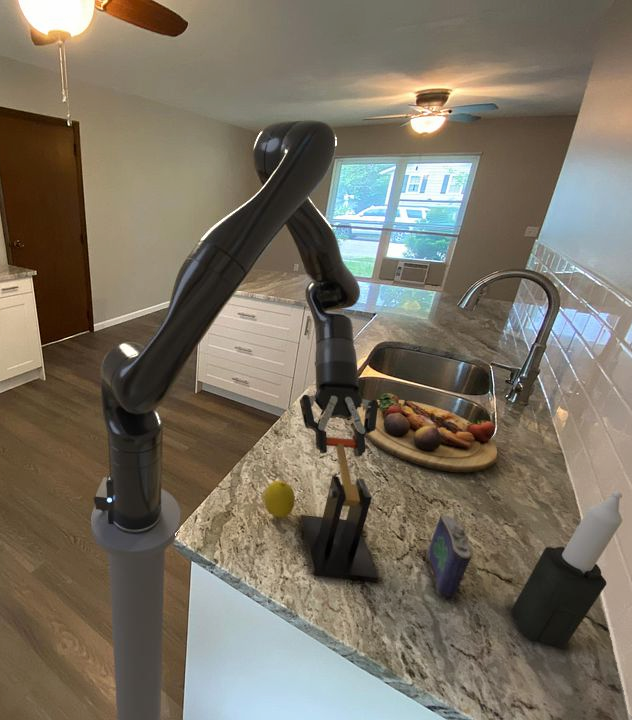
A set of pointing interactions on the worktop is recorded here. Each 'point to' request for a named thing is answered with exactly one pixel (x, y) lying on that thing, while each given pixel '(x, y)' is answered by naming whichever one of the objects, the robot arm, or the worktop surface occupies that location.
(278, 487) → the lemon
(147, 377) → the robot arm
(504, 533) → the worktop surface
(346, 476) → the valve lever
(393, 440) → the wooden plate
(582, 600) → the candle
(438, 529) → the flask
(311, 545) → the black lever stand
